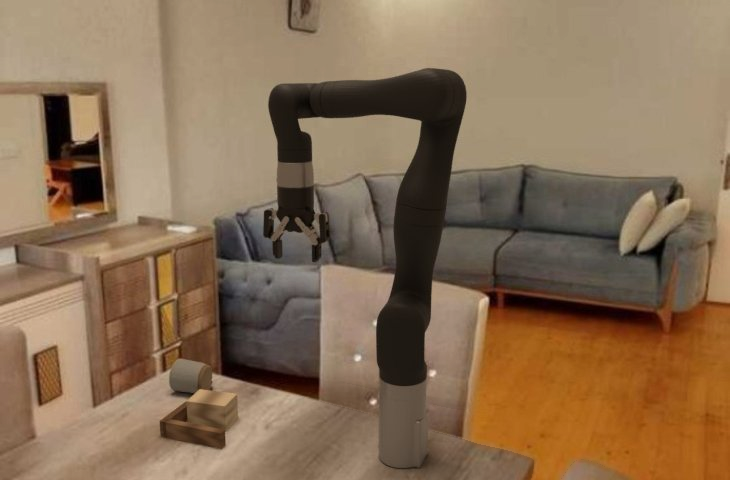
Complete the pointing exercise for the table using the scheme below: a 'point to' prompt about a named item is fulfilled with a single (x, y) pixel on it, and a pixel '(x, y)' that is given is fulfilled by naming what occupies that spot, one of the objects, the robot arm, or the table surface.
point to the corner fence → (191, 429)
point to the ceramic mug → (189, 376)
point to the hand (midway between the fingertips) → (296, 259)
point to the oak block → (212, 409)
